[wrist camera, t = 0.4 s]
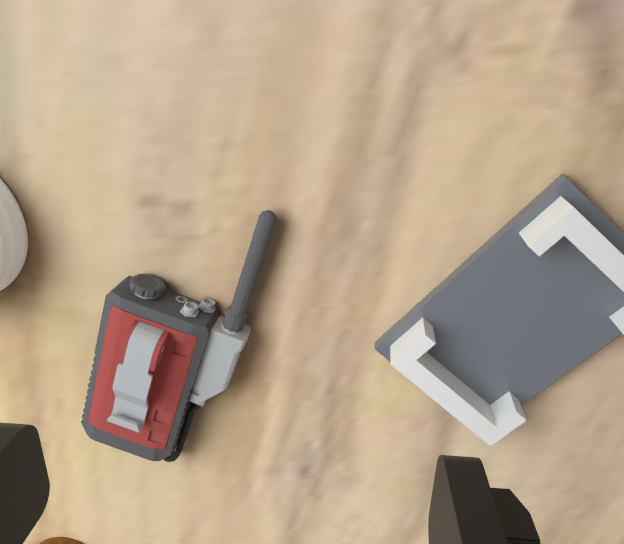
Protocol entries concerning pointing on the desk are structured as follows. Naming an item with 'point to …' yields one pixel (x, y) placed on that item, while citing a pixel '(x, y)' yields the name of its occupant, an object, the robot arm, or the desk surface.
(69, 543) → the disposable coffee cup
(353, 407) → the desk surface
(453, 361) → the charging dock
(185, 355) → the walkie-talkie
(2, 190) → the white round container
